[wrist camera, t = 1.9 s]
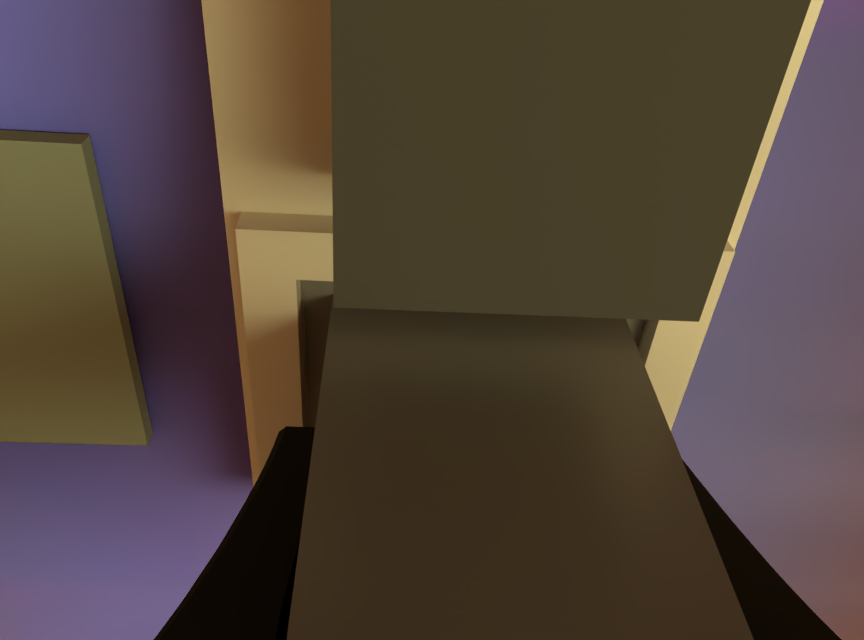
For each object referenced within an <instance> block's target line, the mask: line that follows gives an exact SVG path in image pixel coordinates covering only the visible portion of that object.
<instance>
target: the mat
mask: <svg viewBox="0 0 864 640" xmlns="http://www.w3.org/2000/svg"><path fill="white" fill-rule="evenodd" d="M152 433H153V432H152V427H151V423H150V418H149V413H148V408H147V404H146V399H145V394H144V390H143V385H142V380H141V375H140V371H139V366H138V361H137V356H136V352H135V347H134V342H133V338H132V333H131V328H130V323H129V319H128V314H127V309H126V304H125V300H124V295H123V290H122V286H121V281H120V276H119V271H118V267H117V262H116V257H115V252H114V248H113V243H112V238H111V234H110V229H109V224H108V219H107V215H106V210H105V205H104V200H103V196H102V191H101V186H100V182H99V177H98V172H97V167H96V163H95V158H94V153H93V148H92V144H91V139H90V135H88V134H69V133H50V132H31V131H12V130H0V442H33V443H71V444H108V445H145V446H148V443H149V441H150V438H151V435H152Z"/></svg>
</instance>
